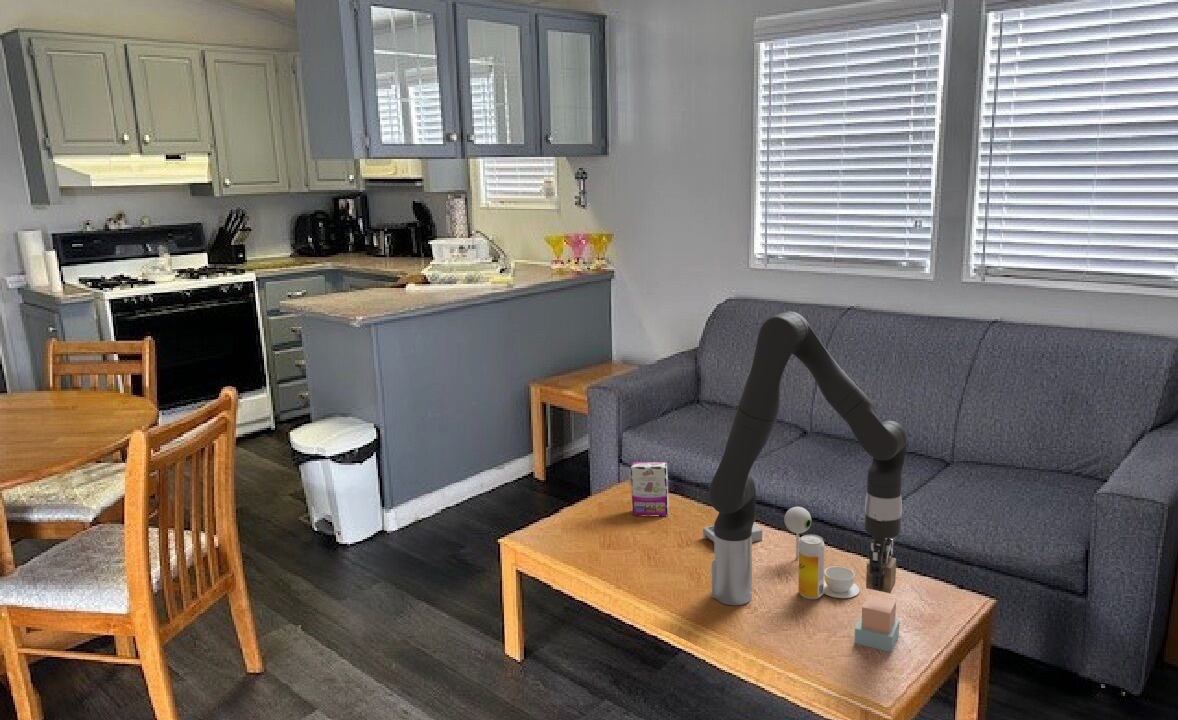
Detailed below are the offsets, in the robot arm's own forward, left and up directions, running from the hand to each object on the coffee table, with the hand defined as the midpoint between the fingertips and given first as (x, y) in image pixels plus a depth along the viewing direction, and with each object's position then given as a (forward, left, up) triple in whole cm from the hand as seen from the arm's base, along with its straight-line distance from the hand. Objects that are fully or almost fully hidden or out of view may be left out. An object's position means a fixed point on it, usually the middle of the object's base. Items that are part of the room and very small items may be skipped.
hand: (880, 582), depth 184 cm
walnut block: (0, 0, -1) cm, 1 cm away
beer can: (-19, +13, -14) cm, 27 cm away
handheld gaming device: (-48, +34, -15) cm, 61 cm away
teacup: (-14, +18, -14) cm, 27 cm away
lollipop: (-28, +30, -14) cm, 43 cm away
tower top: (0, 0, -10) cm, 10 cm away
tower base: (0, 0, -14) cm, 14 cm away
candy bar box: (-78, +40, -14) cm, 89 cm away
